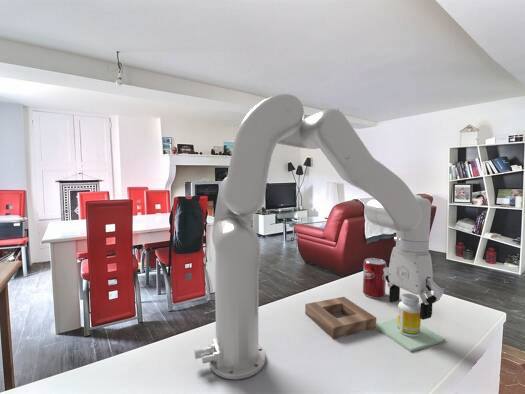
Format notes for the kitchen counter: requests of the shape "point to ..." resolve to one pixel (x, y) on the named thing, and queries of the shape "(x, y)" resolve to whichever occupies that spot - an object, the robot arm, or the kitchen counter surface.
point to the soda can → (374, 278)
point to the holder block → (343, 326)
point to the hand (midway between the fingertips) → (408, 309)
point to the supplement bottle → (409, 315)
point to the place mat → (408, 342)
